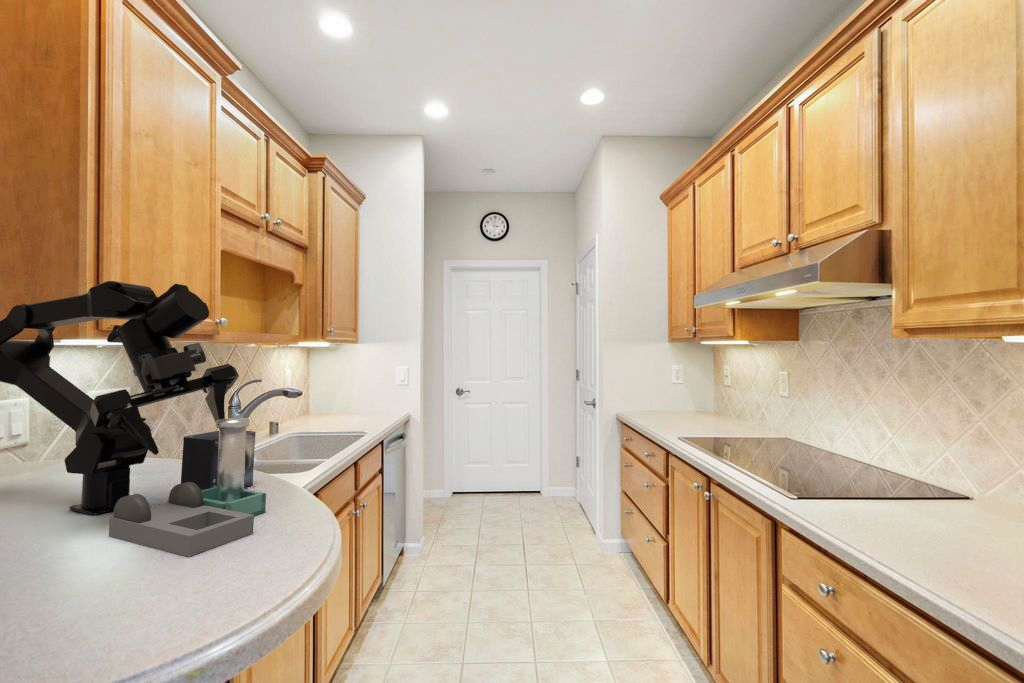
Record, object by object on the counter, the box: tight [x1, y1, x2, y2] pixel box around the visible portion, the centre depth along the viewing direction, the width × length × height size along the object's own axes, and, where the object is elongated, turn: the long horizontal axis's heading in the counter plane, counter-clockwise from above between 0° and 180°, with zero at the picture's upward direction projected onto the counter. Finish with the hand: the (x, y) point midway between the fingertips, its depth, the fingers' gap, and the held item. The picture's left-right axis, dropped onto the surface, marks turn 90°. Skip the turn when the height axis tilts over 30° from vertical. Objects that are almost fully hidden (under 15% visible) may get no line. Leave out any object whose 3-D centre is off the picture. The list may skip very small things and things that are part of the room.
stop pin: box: [215, 417, 250, 503], centre depth 75 cm, size 4×4×14 cm
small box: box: [180, 430, 257, 491], centre depth 88 cm, size 11×6×10 cm, turn 168°
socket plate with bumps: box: [108, 482, 255, 558], centre depth 67 cm, size 16×9×6 cm, turn 68°
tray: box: [201, 487, 267, 517], centre depth 76 cm, size 10×7×3 cm
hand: (191, 441), depth 75 cm, fingers open, 9 cm apart
